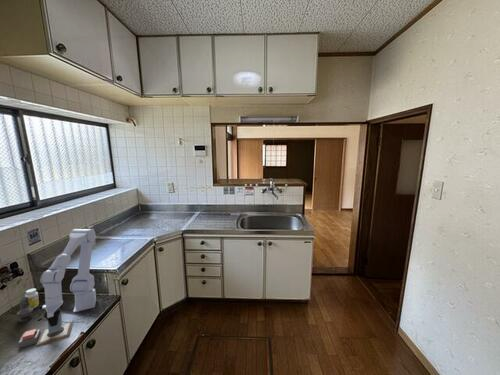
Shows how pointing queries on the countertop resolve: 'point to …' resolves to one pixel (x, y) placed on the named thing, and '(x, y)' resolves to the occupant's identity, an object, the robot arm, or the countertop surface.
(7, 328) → the countertop surface
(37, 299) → the supplement bottle
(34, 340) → the button housing
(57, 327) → the grey rectangular block
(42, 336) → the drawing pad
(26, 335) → the button
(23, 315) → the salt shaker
